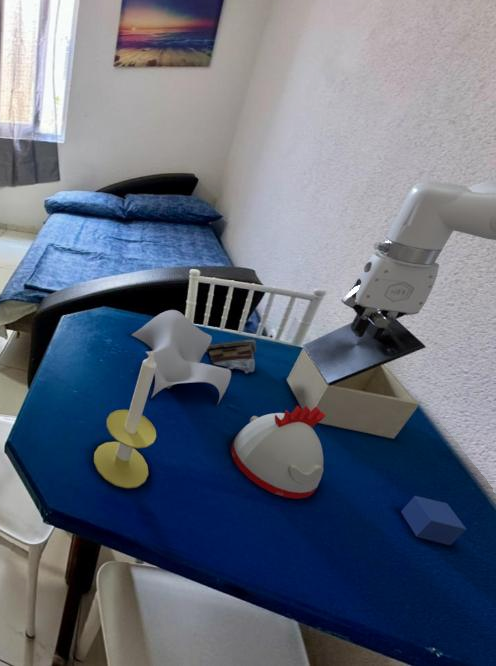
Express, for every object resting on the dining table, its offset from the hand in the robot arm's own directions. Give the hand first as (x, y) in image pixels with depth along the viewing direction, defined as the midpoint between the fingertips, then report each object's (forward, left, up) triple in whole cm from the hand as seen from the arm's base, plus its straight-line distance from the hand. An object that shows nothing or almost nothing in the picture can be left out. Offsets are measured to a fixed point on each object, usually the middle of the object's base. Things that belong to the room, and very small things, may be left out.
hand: (363, 333), depth 83 cm
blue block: (-5, +28, -20) cm, 34 cm away
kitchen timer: (+16, +22, -20) cm, 34 cm away
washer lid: (0, 0, -3) cm, 3 cm away
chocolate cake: (+17, -9, -20) cm, 28 cm away
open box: (-3, 0, -20) cm, 20 cm away
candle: (+44, +31, -20) cm, 58 cm away
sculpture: (+31, -3, -20) cm, 37 cm away
